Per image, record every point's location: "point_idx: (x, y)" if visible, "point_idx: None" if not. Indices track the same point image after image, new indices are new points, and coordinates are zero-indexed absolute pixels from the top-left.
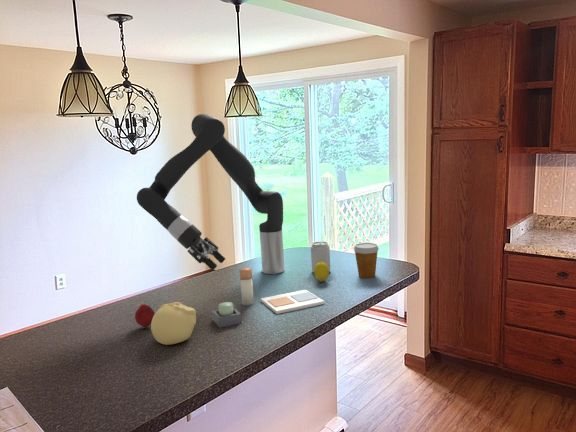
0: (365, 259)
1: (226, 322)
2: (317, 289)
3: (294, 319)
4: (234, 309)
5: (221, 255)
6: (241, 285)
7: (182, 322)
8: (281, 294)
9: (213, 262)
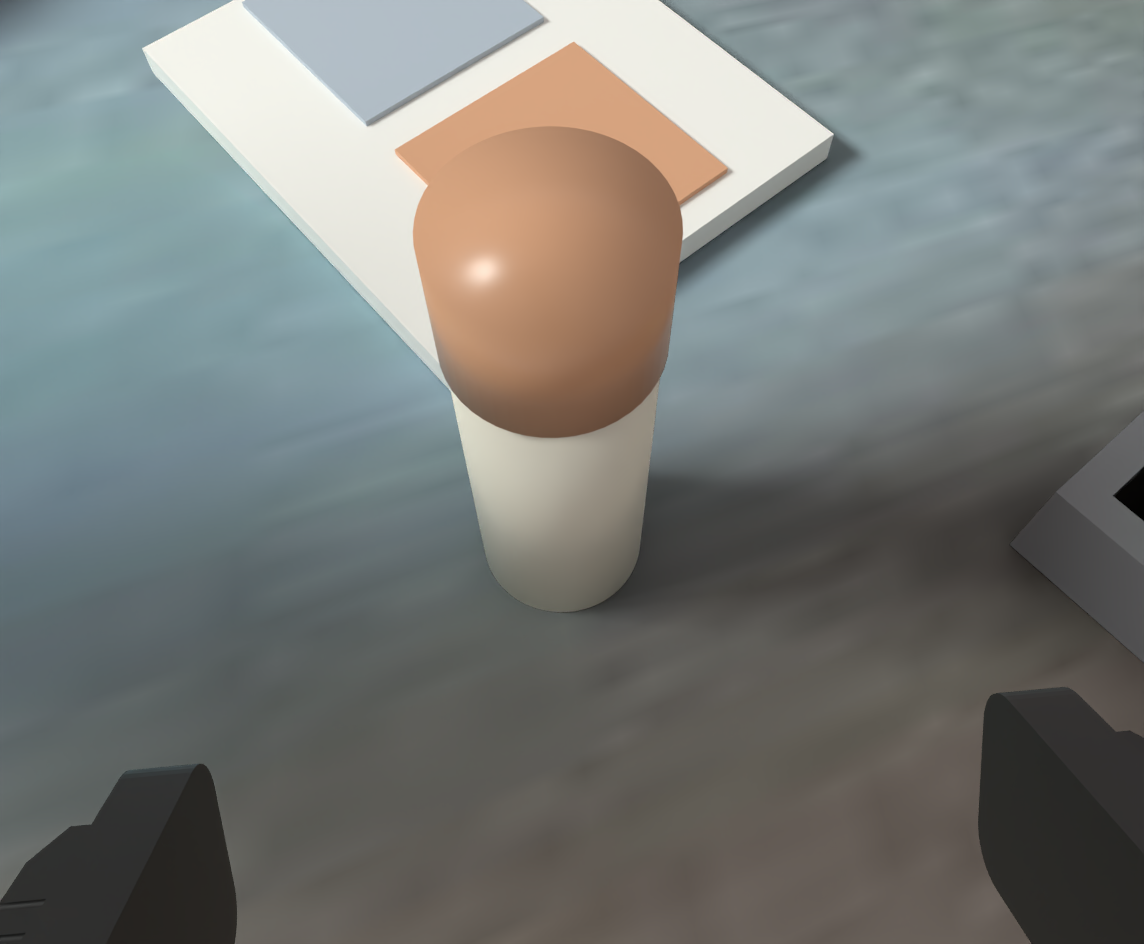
0: None
1: None
2: (69, 3)
3: (903, 8)
4: (1140, 447)
5: (113, 870)
6: (639, 451)
7: None
8: (309, 218)
9: (1110, 762)
